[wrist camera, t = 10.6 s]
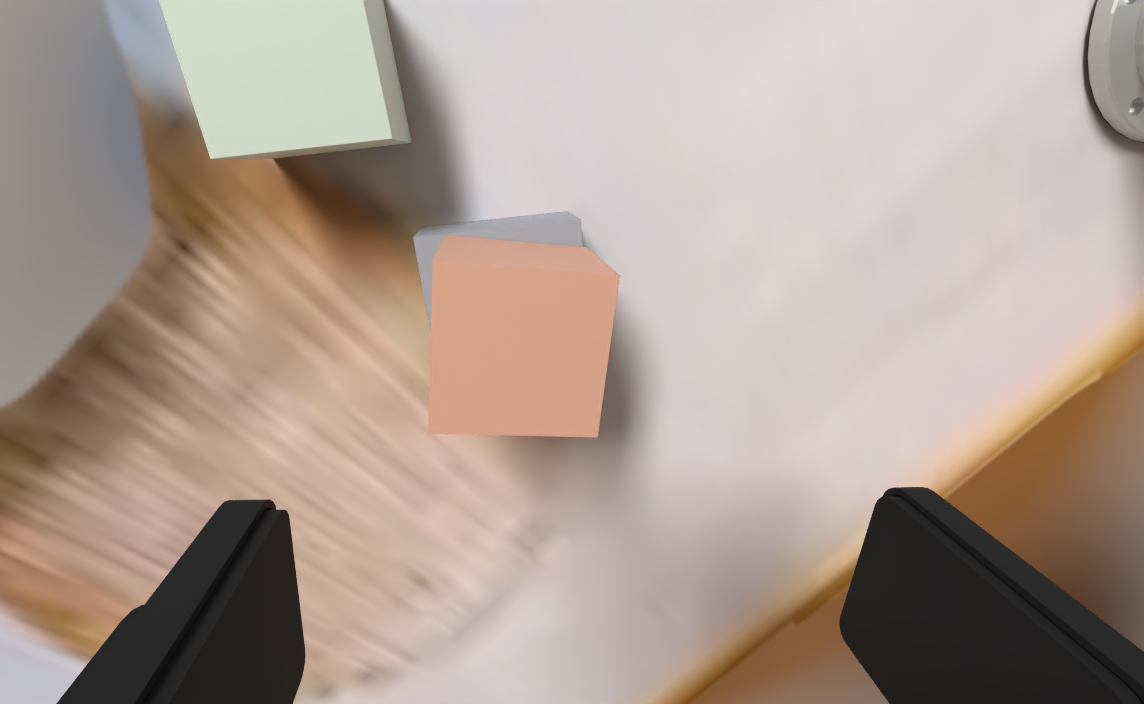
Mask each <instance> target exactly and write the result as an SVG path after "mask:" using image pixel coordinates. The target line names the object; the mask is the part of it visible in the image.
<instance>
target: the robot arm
mask: <svg viewBox="0 0 1144 704" xmlns="http://www.w3.org/2000/svg"><path fill="white" fill-rule="evenodd" d="M1088 68H1089V80H1090V84H1091V88H1092V92H1093V95H1094V99H1095V102H1096V104H1097V106H1098V107H1099V109H1100V111H1101V113H1102V115H1103V117H1104V118H1105V119H1106V121H1107V122H1108V123H1109V124H1110V125H1111V126H1112V127H1113V128H1114V129H1115V130H1116V131H1117V132H1119V133H1121V134H1123V135H1124V136H1126V137H1128V138H1129V139H1132V140H1136V141H1140V142H1144V0H1098V1H1097V4H1096V8H1095V12H1094V16H1093V21H1092V25H1091V29H1090V37H1089V48H1088ZM840 630H841V634H842V636H843V639H844V641H845V642H846V644H847V645H848V647H849V648H850V650H851V651H852V652H853V654H854V655H855V656H856V658H857V659H858V660H859V662H860V663H861V665H862V666H863V667H864V669H865V670H866V672H867V673H868V674H869V676H870V677H871V678H872V680H873V681H874V683H875V684H876V685H877V687H878V688H879V689H880V691H881V692H882V694H883V695H884V696H885V698H886V699H887V701H888V702H889V703H890V704H1144V652H1143V651H1142V650H1141V649H1139V648H1138V647H1137V646H1135V645H1134V644H1133V643H1131V642H1130V641H1129V640H1128V639H1126V638H1125V637H1124V636H1122V635H1121V634H1120V633H1118V632H1117V631H1116V630H1115V629H1113V628H1112V627H1111V626H1109V625H1108V624H1107V623H1105V622H1104V621H1103V620H1101V619H1100V618H1099V617H1097V616H1096V615H1095V614H1094V613H1092V612H1091V611H1090V610H1088V609H1087V608H1086V607H1084V606H1083V605H1082V604H1080V603H1079V602H1078V601H1077V600H1075V599H1074V598H1073V597H1071V596H1070V595H1069V594H1067V593H1066V592H1065V591H1063V590H1062V589H1061V588H1060V587H1058V586H1057V585H1055V584H1054V583H1053V582H1052V581H1050V580H1049V579H1048V578H1046V577H1045V576H1044V575H1043V574H1041V573H1040V572H1038V571H1037V570H1036V569H1035V568H1033V567H1032V566H1031V565H1029V564H1028V563H1027V562H1025V561H1024V560H1023V559H1022V558H1020V557H1019V556H1018V555H1016V554H1015V553H1014V552H1012V551H1011V550H1010V549H1008V548H1007V547H1006V546H1005V545H1003V544H1002V543H1001V542H999V541H998V540H997V539H995V538H994V537H993V536H991V535H990V534H989V533H987V532H986V531H985V530H984V529H982V528H981V527H980V526H978V525H977V524H976V523H974V522H973V521H972V520H970V519H969V518H968V517H967V516H965V515H964V514H962V513H961V512H960V511H959V510H957V509H956V508H955V507H953V506H952V505H951V504H950V503H948V502H947V501H946V500H944V499H943V498H942V497H940V496H939V495H938V494H936V493H935V492H934V491H932V490H930V489H928V488H924V487H901V488H891V489H888V490H887V491H886V492H885V493H884V495H883V497H881V498H880V499H878V500H877V502H876V504H875V507H874V510H873V513H872V517H871V520H870V523H869V526H868V529H867V533H866V536H865V539H864V542H863V546H862V549H861V552H860V555H859V558H858V562H857V565H856V568H855V571H854V574H853V578H852V581H851V584H850V587H849V591H848V594H847V597H846V600H845V603H844V607H843V610H842V613H841V616H840ZM304 664H305V645H304V637H303V628H302V620H301V611H300V603H299V595H298V586H297V578H296V570H295V561H294V553H293V544H292V536H291V528H290V519H289V515H288V512H287V511H286V510H276V506H275V504H274V502H273V501H271V500H229V501H225V502H224V503H223V504H222V505H221V506H220V507H219V508H218V509H217V511H216V512H215V513H214V515H213V516H212V517H211V518H210V520H209V521H208V522H207V524H206V525H205V526H204V528H203V529H202V530H201V532H200V533H199V534H198V536H197V537H196V538H195V539H194V541H193V542H192V543H191V545H190V546H189V547H188V549H187V550H186V551H185V553H184V554H183V555H182V556H181V558H180V559H179V560H178V562H177V563H176V564H175V566H174V567H173V568H172V570H171V571H170V572H169V574H168V575H167V576H166V577H165V579H164V580H163V581H162V583H161V584H160V585H159V587H158V588H157V589H156V591H155V592H154V593H153V594H152V596H151V597H150V598H149V600H148V601H147V602H146V604H145V605H141V606H139V607H137V608H136V609H134V610H132V611H131V612H130V613H129V614H128V615H127V616H126V617H125V618H124V619H123V620H122V621H121V622H120V624H119V625H118V626H117V627H116V629H115V630H114V631H113V632H112V634H111V635H110V636H109V638H108V639H107V640H106V641H105V643H104V644H103V645H102V646H101V648H100V649H99V650H98V652H97V653H96V654H95V655H94V657H93V658H92V659H91V660H90V662H89V663H88V664H87V666H86V667H85V668H84V669H83V671H82V672H81V673H80V674H79V676H78V677H77V678H76V679H75V681H74V682H73V683H72V685H71V686H70V687H69V688H68V690H67V691H66V692H65V693H64V695H63V696H62V697H61V699H60V700H59V701H58V702H57V704H293V701H294V698H295V696H296V693H297V690H298V687H299V685H300V682H301V678H302V675H303V670H304Z"/></svg>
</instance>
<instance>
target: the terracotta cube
mask: <svg viewBox="0 0 1144 704" xmlns="http://www.w3.org/2000/svg"><path fill="white" fill-rule="evenodd" d="M619 278H620V275H619V274H618V273H617V272H615V271H614V270H613V269H612V268H611V267H610V266H608V265H607V264H606V263H605V262H604V261H603V260H601V259H600V258H599V257H598V256H597V255H595V254H594V253H593V252H592V251H591V250H590V249H588V248H587V247H579V246H567V245H556V244H544V243H533V242H521V241H510V240H498V239H487V238H475V237H464V236H452V235H445V236H444V238H443V240H442V242H441V244H440V246H439V248H438V250H437V252H436V254H435V257H434V259H433V264H432V304H431V345H430V386H429V426H428V434H462V435H509V436H555V437H598V431H599V424H600V417H601V409H602V402H603V395H604V387H605V380H606V373H607V366H608V358H609V351H610V344H611V336H612V329H613V322H614V315H615V307H616V300H617V293H618V285H619Z"/></svg>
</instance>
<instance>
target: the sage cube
mask: <svg viewBox="0 0 1144 704" xmlns="http://www.w3.org/2000/svg"><path fill="white" fill-rule="evenodd" d="M159 2H160V5H161V8H162V11H163V14H164V17H165V20H166V23H167V26H168V30H169V33H170V36H171V39H172V42H173V45H174V48H175V51H176V54H177V57H178V60H179V63H180V66H181V69H182V72H183V75H184V79H185V82H186V85H187V88H188V91H189V94H190V97H191V100H192V103H193V106H194V109H195V112H196V115H197V118H198V121H199V124H200V128H201V131H202V134H203V137H204V140H205V143H206V146H207V149H208V152H209V155H210V158H211V159H274V158H283V157H292V156H300V155H309V154H318V153H327V152H336V151H345V150H354V149H362V148H371V147H380V146H389V145H398V144H407V143H412V141H411V136H410V131H409V126H408V121H407V116H406V111H405V106H404V101H403V96H402V91H401V86H400V81H399V76H398V71H397V66H396V61H395V56H394V51H393V46H392V41H391V37H390V32H389V27H388V22H387V17H386V12H385V7H384V2H383V0H159Z"/></svg>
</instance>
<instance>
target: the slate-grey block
mask: <svg viewBox="0 0 1144 704" xmlns="http://www.w3.org/2000/svg"><path fill="white" fill-rule="evenodd" d="M445 235H452V236H464V237H475V238H487V239H498V240H510V241H521V242H533V243H544V244H556V245H567V246H579V247H583V243H582V230H581V219H579V218H578V217H576V216H574V215H572V214H571V213H569V212H567V211H565V212H556V213H546V214H537V215H528V216H518V217H509V218H500V219H490V220H481V221H472V222H462V223H453V224H444V225H434V226H425V227H421V228H420V230H419V231H418V232H417V233H416V235H415V236H414V237H413V240H414V245H415V251H416V256H417V261H418V267H419V272H420V277H421V283H422V288H423V293H424V299H425V304H426V309H427V315H428V320H429V325H430V331H431V304H432V264H433V259H434V257H435V254H436V252H437V250H438V248H439V246H440V244H441V242H442V240H443V238H444V236H445Z"/></svg>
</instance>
